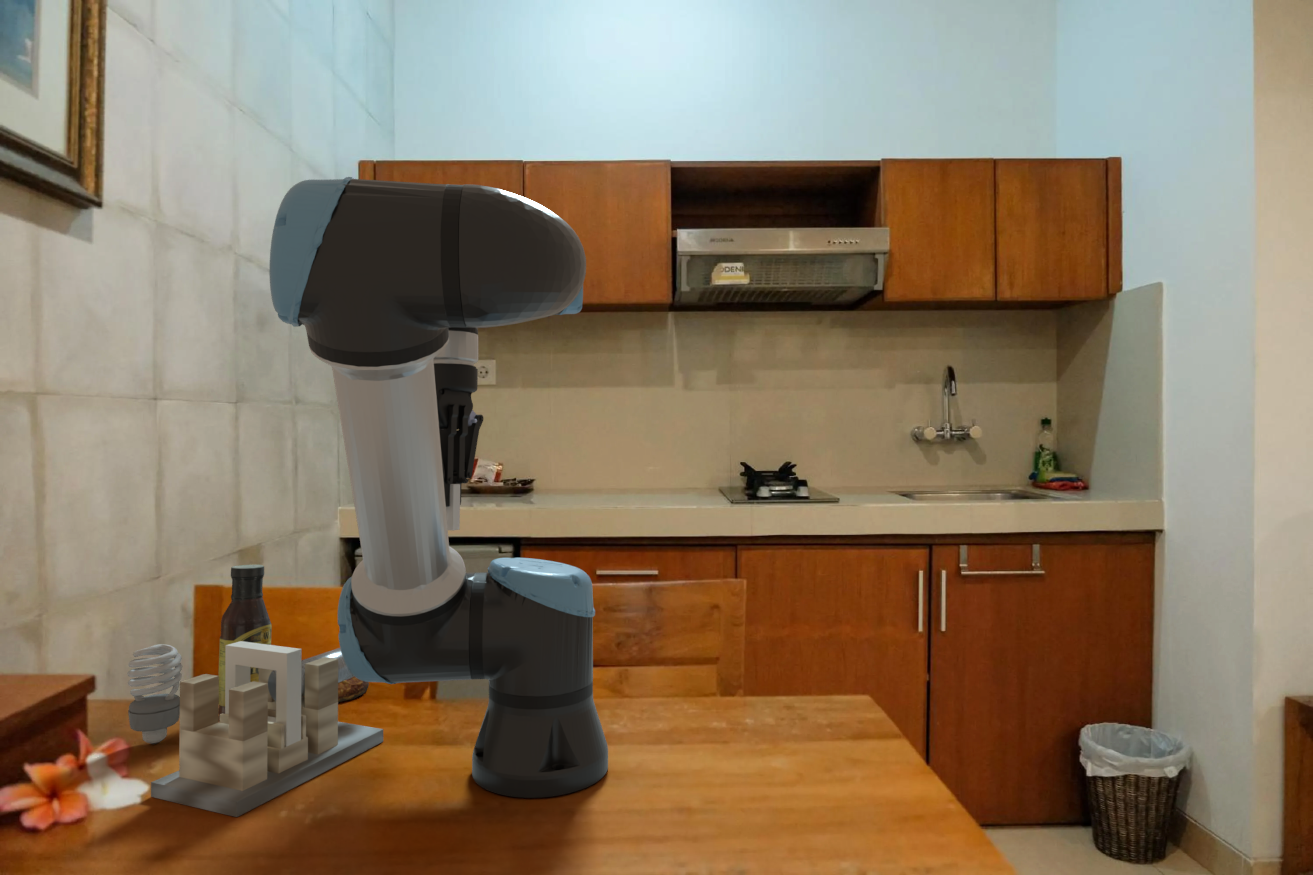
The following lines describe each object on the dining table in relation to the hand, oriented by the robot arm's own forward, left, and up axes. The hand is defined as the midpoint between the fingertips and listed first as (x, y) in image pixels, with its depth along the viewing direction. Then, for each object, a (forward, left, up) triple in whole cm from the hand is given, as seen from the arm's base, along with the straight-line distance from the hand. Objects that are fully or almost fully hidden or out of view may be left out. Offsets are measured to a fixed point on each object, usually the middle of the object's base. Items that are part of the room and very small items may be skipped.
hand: (448, 529), depth 113 cm
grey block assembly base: (+4, +26, -24) cm, 36 cm away
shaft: (+4, +19, -18) cm, 26 cm away
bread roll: (+18, +4, -25) cm, 31 cm away
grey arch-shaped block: (+4, +28, -20) cm, 35 cm away
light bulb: (+23, +27, -25) cm, 43 cm away
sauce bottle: (+22, +15, -25) cm, 36 cm away
